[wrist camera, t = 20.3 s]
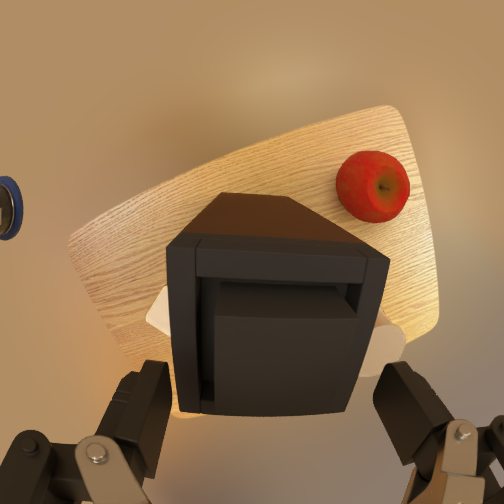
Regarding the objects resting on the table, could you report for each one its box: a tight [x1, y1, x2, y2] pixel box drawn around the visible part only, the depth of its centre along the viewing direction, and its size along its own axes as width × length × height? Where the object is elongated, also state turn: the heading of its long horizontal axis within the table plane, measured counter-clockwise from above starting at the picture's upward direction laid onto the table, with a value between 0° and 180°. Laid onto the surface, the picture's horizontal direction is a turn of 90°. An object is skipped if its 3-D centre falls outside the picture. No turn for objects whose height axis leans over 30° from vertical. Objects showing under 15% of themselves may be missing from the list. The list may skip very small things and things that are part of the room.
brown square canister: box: [166, 192, 390, 417], centre depth 24 cm, size 9×9×26 cm
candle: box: [359, 306, 406, 377], centre depth 32 cm, size 7×7×15 cm
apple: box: [336, 151, 410, 223], centre depth 30 cm, size 9×8×11 cm
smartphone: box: [146, 286, 171, 337], centre depth 40 cm, size 7×1×15 cm
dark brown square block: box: [214, 282, 359, 416], centre depth 11 cm, size 5×5×3 cm
